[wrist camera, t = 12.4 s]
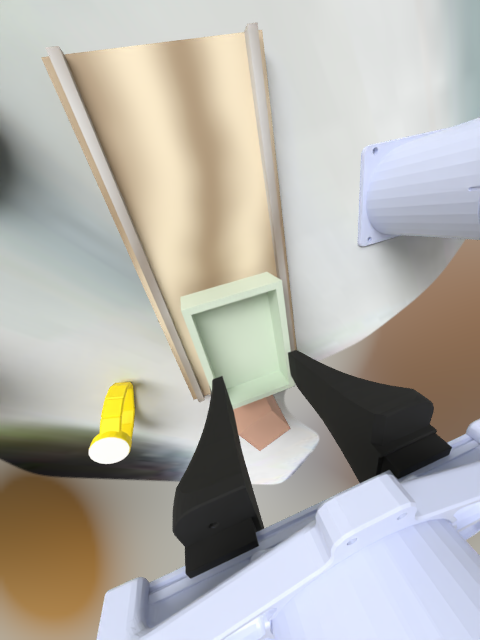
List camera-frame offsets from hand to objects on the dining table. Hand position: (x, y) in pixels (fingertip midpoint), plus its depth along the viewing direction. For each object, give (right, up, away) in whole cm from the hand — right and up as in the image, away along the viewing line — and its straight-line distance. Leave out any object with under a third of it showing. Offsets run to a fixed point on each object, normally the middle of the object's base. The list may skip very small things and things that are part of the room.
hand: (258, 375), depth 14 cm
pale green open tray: (-2, +3, +6) cm, 7 cm away
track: (-3, +8, +4) cm, 10 cm away
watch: (-13, -4, +7) cm, 15 cm away
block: (0, -5, +11) cm, 13 cm away
